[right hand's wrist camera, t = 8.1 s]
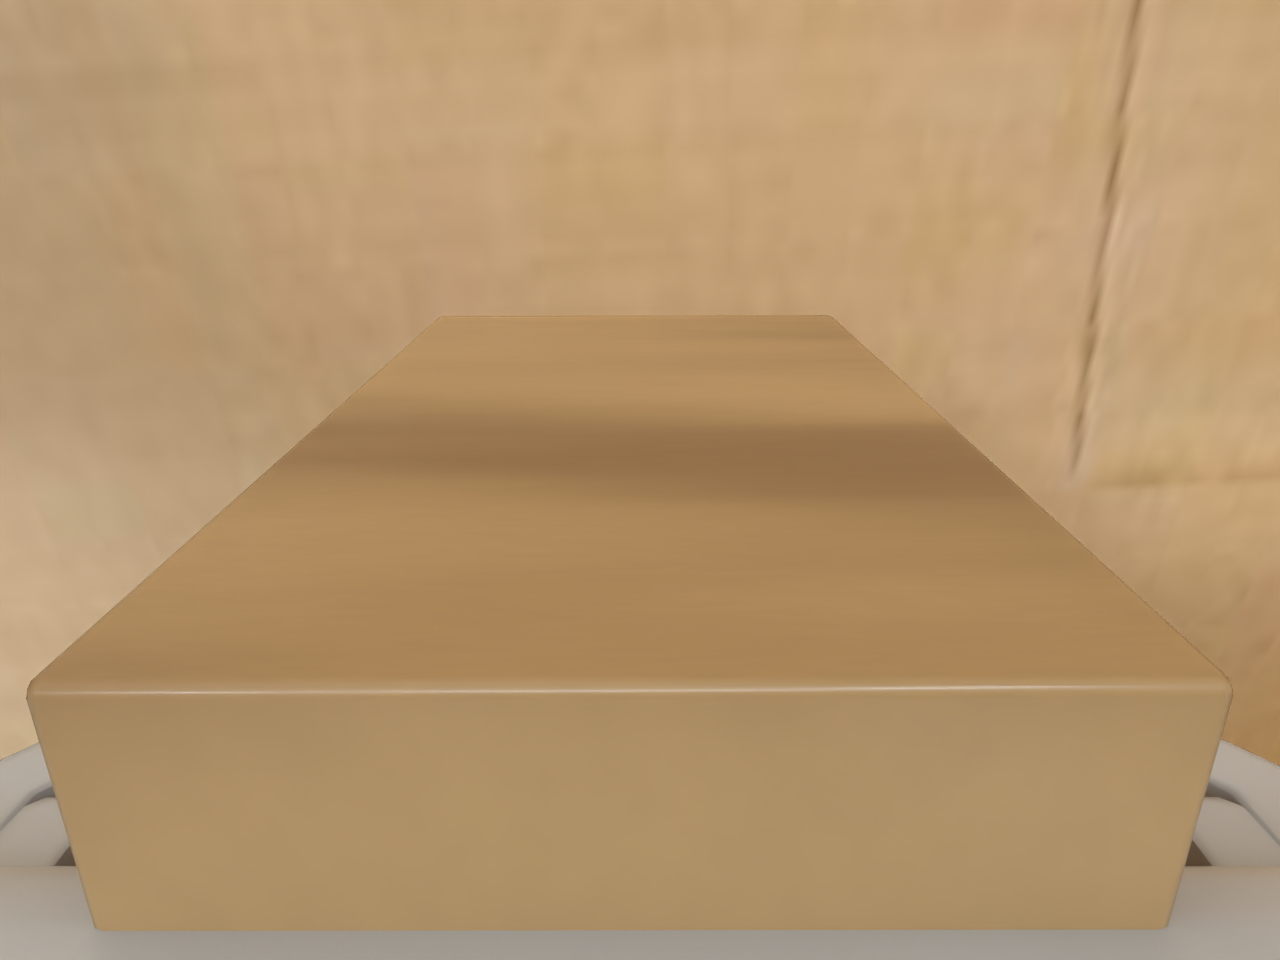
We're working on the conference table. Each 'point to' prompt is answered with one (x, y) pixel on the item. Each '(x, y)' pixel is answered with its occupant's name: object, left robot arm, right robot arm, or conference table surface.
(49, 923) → the right robot arm
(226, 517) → the bar
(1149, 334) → the conference table surface
